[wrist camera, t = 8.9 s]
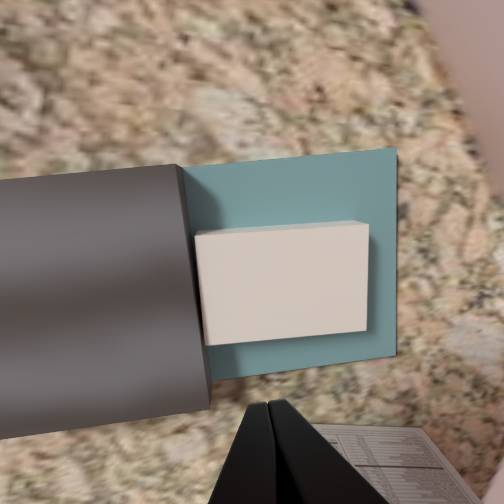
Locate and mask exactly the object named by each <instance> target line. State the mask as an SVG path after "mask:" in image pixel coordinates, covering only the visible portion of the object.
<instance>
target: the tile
mask: <svg viewBox="0 0 504 504" xmlns="http://www.w3.org/2000/svg"><path fill="white" fill-rule="evenodd" d="M368 244H369V224H366V223H362V222H358V221H354V220H350V221H335V222H320V223H305V224H290V225H275V226H260V227H245V228H230V229H215V230H200V231H197V233H196V234H195V246H196V257H197V267H198V277H199V288H200V298H201V308H202V319H203V329H204V340H205V346H208V345H219V344H230V343H240V342H251V341H261V340H272V339H282V338H293V337H304V336H314V335H325V334H335V333H346V332H356V331H366V326H367V285H368Z"/></svg>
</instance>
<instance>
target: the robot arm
mask: <svg viewBox="0 0 504 504" xmlns="http://www.w3.org/2000/svg"><path fill="white" fill-rule="evenodd" d="M208 504H390V503H389V502H388V501H387V500H386V499H385V498H384V497H383V496H382V495H381V494H380V493H379V492H378V491H377V490H376V489H375V488H374V487H373V486H372V485H371V484H370V483H369V482H368V481H367V480H366V479H365V478H364V477H363V476H362V475H361V474H360V473H359V472H358V471H357V470H356V469H355V468H354V467H353V466H352V465H351V464H350V463H349V462H348V461H347V460H346V459H345V458H344V457H343V456H342V455H341V454H340V453H339V452H338V451H337V450H336V449H335V448H334V447H333V446H332V445H331V444H330V443H329V442H328V441H327V440H326V439H325V438H324V437H323V436H322V435H321V434H320V433H319V432H318V431H317V430H316V429H315V428H314V427H313V426H312V425H311V424H310V423H309V422H308V421H307V420H306V419H305V418H304V417H303V416H302V415H301V414H300V413H299V412H298V411H297V410H296V409H295V408H294V407H293V406H292V405H291V404H290V403H289V402H288V401H287V400H286V399H278V400H271V401H269V402H268V404H267V403H266V402H257V403H251V404H249V405H248V407H247V410H246V412H245V414H244V417H243V419H242V422H241V424H240V426H239V429H238V431H237V434H236V436H235V439H234V441H233V443H232V446H231V448H230V451H229V453H228V456H227V458H226V460H225V463H224V465H223V468H222V470H221V473H220V475H219V477H218V480H217V482H216V485H215V487H214V490H213V492H212V494H211V497H210V499H209V502H208Z"/></svg>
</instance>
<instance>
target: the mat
mask: <svg viewBox="0 0 504 504" xmlns="http://www.w3.org/2000/svg"><path fill="white" fill-rule="evenodd" d="M182 169H183V176H184V184H185V191H186V198H187V205H188V212H189V219H190V227H191V234H192V241H193V248H194V255H195V262H196V270H197V277H198V267H197V257H196V246H195V234H196V233H197V231H200V230H215V229H230V228H245V227H260V226H275V225H290V224H305V223H320V222H335V221H350V220H354V221H358V222H362V223H366V224H369V244H368V285H367V326H366V331H356V332H346V333H335V334H325V335H314V336H304V337H293V338H282V339H272V340H261V341H251V342H240V343H230V344H219V345H208V346H207V348H208V356H209V363H210V370H211V377H212V381H216V380H223V379H231V378H238V377H245V376H252V375H259V374H267V373H274V372H281V371H288V370H295V369H302V368H310V367H317V366H324V365H331V364H338V363H346V362H353V361H360V360H367V359H374V358H381V357H389V356H396V176H397V148H388V149H377V150H366V151H355V152H344V153H334V154H323V155H312V156H301V157H291V158H280V159H269V160H258V161H248V162H237V163H226V164H215V165H204V166H194V167H183V168H182ZM198 284H199V277H198ZM199 291H200V288H199Z"/></svg>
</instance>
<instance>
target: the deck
mask: <svg viewBox="0 0 504 504" xmlns="http://www.w3.org/2000/svg"><path fill="white" fill-rule="evenodd" d="M211 390H212V377H211V370H210V363H209V356H208V348H207V346H205V340H204V329H203V319H202V308H201V298H200V291H199V284H198V277H197V270H196V262H195V255H194V248H193V241H192V234H191V227H190V219H189V212H188V205H187V198H186V191H185V184H184V176H183V169H182V167H180V166H178V165H176V164H168V165H157V166H146V167H135V168H124V169H113V170H102V171H91V172H81V173H70V174H59V175H48V176H37V177H26V178H15V179H4V180H0V440H2V439H9V438H16V437H23V436H29V435H36V434H43V433H50V432H57V431H64V430H71V429H78V428H85V427H91V426H98V425H105V424H112V423H119V422H126V421H133V420H140V419H147V418H153V417H160V416H167V415H174V414H181V413H188V412H195V411H202V410H208V409H210V405H211Z"/></svg>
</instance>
